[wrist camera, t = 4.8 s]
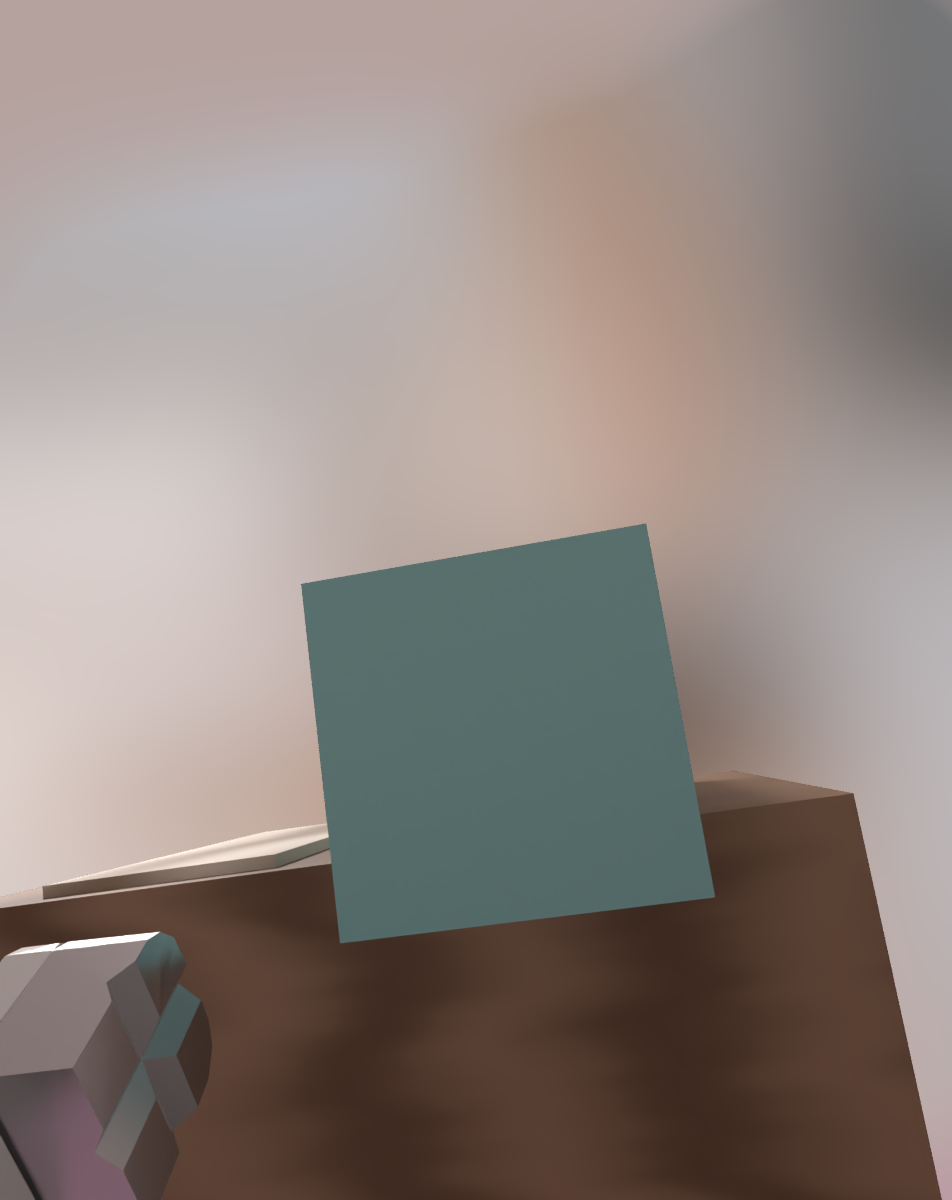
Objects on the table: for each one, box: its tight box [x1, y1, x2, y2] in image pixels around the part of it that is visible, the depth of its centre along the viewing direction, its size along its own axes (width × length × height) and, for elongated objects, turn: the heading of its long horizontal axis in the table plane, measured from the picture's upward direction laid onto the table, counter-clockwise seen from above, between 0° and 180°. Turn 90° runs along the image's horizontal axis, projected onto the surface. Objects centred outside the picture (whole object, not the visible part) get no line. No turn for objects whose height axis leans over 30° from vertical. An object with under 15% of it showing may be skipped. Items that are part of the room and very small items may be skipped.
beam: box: [301, 524, 715, 943], centre depth 22 cm, size 4×26×4 cm, turn 171°
